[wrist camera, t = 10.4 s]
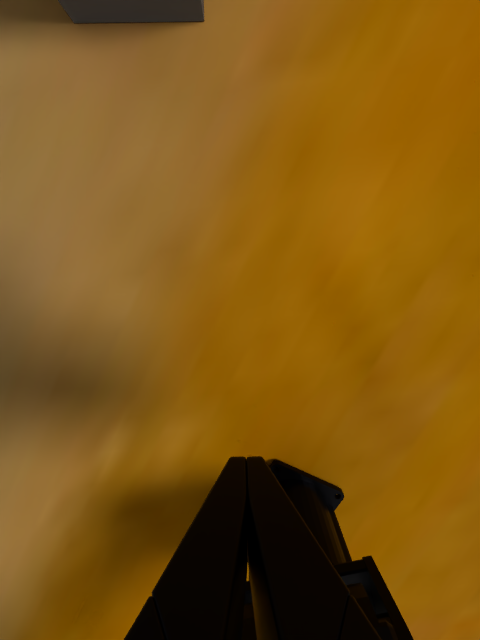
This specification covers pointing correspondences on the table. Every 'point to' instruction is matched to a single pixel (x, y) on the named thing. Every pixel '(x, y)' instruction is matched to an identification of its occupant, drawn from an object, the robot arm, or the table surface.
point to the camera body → (133, 10)
